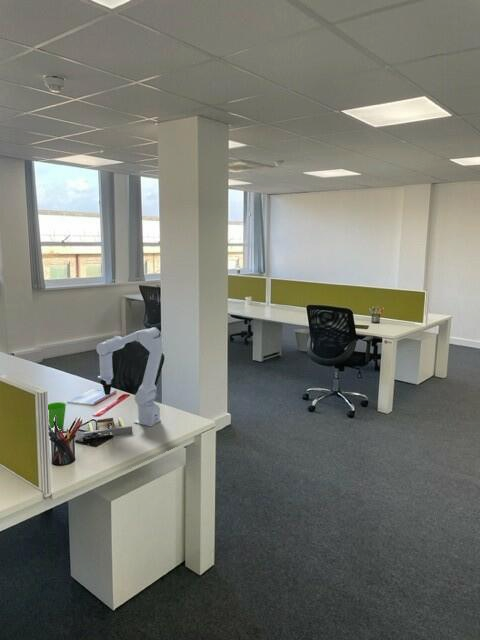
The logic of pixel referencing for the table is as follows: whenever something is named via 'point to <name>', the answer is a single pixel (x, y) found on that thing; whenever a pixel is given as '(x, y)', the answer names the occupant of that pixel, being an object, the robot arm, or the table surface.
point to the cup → (57, 413)
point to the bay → (115, 431)
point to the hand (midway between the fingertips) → (107, 394)
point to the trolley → (105, 423)
